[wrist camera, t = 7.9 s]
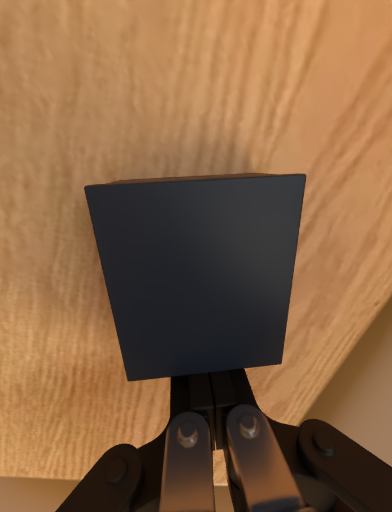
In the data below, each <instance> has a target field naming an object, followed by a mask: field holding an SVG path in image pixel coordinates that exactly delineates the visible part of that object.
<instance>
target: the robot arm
mask: <svg viewBox="0 0 392 512" xmlns="http://www.w3.org/2000/svg"><path fill="white" fill-rule="evenodd" d="M215 442H216V448H217V450H219V449H223V451H224V457H225V462H226V477H227V482H228V486H229V490H230V494H231V498H232V503H233V507H234V512H392V467H391V466H389V465H388V464H386V463H385V462H383V461H382V460H381V459H379V458H378V457H376V456H375V455H373V454H372V453H371V452H369V451H367V450H366V449H365V448H363V447H362V446H360V445H359V444H357V443H356V442H355V441H353V440H352V439H350V438H349V437H347V436H346V435H344V434H343V433H341V432H340V431H338V430H337V429H336V428H334V427H333V426H331V425H330V424H328V423H326V422H324V421H321V420H318V419H309V420H306V421H304V422H303V423H302V424H301V425H300V427H296V426H292V425H287V424H283V423H279V422H276V421H274V420H272V419H270V418H269V417H268V416H266V415H265V414H264V413H263V412H262V411H261V410H260V408H259V407H258V405H257V403H256V400H255V398H254V395H253V392H252V389H251V386H250V383H249V381H248V378H247V375H246V372H245V369H244V368H243V369H234V370H225V371H216V372H207V373H199V374H190V375H181V376H173V377H171V389H170V418H169V422H168V424H167V426H166V428H165V429H164V431H163V432H162V433H161V434H160V435H159V436H158V437H157V438H156V439H154V440H153V441H151V442H149V443H147V444H145V445H143V446H141V447H140V448H138V449H136V447H134V446H133V445H130V444H119V445H116V446H114V447H112V448H110V449H109V450H108V451H107V452H105V453H104V454H103V455H102V457H101V458H100V459H99V460H98V461H97V462H96V464H95V465H94V466H93V467H92V468H91V470H90V471H89V472H88V473H87V474H86V476H85V477H84V478H83V479H82V480H81V482H80V483H79V484H78V485H77V486H76V488H75V489H74V490H73V491H72V493H71V494H70V495H69V496H68V497H67V498H66V500H65V501H64V502H63V503H62V504H61V505H60V507H59V508H58V509H57V510H56V511H55V512H216V511H215V499H214V484H213V451H214V450H215Z"/></svg>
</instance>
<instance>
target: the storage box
mask: <svg viewBox="0 0 392 512" xmlns="http://www.w3.org/2000/svg"><path fill="white" fill-rule="evenodd" d="M305 182H306V174H281V175H278V174H264V173H244V174H226V175H207V176H188V177H169V178H150V179H131V180H119V181H115V182H111V183H107V184H95V185H87V186H85V187H84V190H85V194H86V199H87V203H88V207H89V212H90V216H91V221H92V225H93V230H94V234H95V238H96V243H97V247H98V252H99V256H100V260H101V265H102V269H103V274H104V278H105V283H106V287H107V291H108V296H109V300H110V305H111V309H112V314H113V318H114V322H115V327H116V331H117V336H118V340H119V344H120V349H121V353H122V358H123V362H124V367H125V371H126V375H127V380H128V381H138V380H147V379H155V378H164V377H173V376H181V375H190V374H199V373H207V372H216V371H225V370H234V369H243V368H251V367H260V366H269V365H277V364H281V363H282V356H283V348H284V341H285V333H286V325H287V318H288V310H289V303H290V295H291V288H292V280H293V272H294V265H295V257H296V250H297V242H298V235H299V227H300V219H301V212H302V204H303V197H304V189H305Z"/></svg>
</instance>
